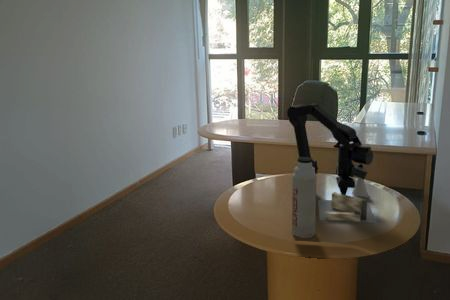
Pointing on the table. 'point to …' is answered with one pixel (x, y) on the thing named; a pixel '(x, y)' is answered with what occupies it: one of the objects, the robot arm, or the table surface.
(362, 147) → the robot arm
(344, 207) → the beige flat block
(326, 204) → the slate board
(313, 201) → the thermos bottle
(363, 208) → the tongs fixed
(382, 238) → the table surface
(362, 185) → the flask
